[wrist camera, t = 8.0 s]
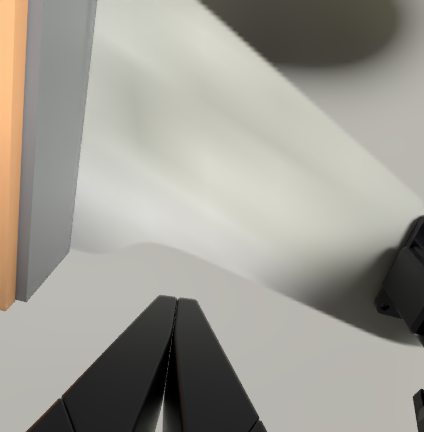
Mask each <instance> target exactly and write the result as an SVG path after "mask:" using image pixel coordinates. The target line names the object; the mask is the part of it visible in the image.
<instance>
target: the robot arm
mask: <svg viewBox="0 0 424 432" xmlns="http://www.w3.org/2000/svg"><path fill="white" fill-rule="evenodd" d="M383 304H387V305H386V306H382V305H383ZM374 305H375V307H376V309H377V311H378V312H379V313H381V314H385V315H389V316H392V317H396V318H400V319H403V321H404V322H405V324H406V326H407V327H408V329H409V331H410V332H411V333H412V334H415V335H417V337H418V339H419V340H420V342H421V344H422V345H423V347H424V217H422V218H421V219H420V220H419V221H418V223H417V225H416V227H415V229H414V230H413V232H412V234H411V236H410V238H409V240H408V241H407V243H406V245H405V247H404V248H402V249H401V250H400V252H399V254H398V256H397V258H396V260H395V261H394V263H393V265H392V267H391V269H390V271H389V272H388V274H387V276H386V278H385V280H384V282H383V287H382V289H381V291H380V293H379V295H378V296H377V298H376V300H375V303H374ZM176 306H177V307H176ZM175 313H176V314H175ZM174 320H175V321H174ZM173 327H174V328H173ZM172 334H173V335H172ZM171 341H172V342H171ZM170 348H171V350H170ZM169 355H170V357H169ZM168 362H169V364H168ZM167 369H168V371H167ZM166 376H167V378H166ZM165 383H166V385H165ZM164 390H165V393H164ZM163 396H164V403H163V404H164V405H163V432H267V431H266V429H265V427H264V425H263V423H262V421H260V420H259V416H258V414H257V412H256V411H255V409H254V407H253V405H252V403H251V401H250V399H249V397H248V395H247V394H246V392H245V390H244V388H243V386H242V384H241V382H240V381H239V379H238V377H237V375H236V373H235V371H234V369H233V367H232V365H231V364H230V362H229V360H228V358H227V356H226V354H225V353H224V351H223V349H222V347H221V345H220V344H219V341H218V339H217V337H216V336H215V334H214V332H213V330H212V328H211V326H210V324H209V322H208V321H207V319H206V317H205V315H204V313H203V311H202V309H201V308H200V306H199V304H198V302H197V301H196V300H194V299H188V298H179V299H178V301H177V298H175V297H172V296H165V295H159V296H158V297H157V298H156V299H155V300H154V301H153V302H152V303H151V304H150V305H149V306H148V307H147V308H146V309H145V310H144V311H143V312H142V313H141V314H140V315H139V316H138V317H137V318H136V319H135V321H133V323H132V324H131V325H130V326H129V327H128V328H127V329H126V330H125V331H124V332H123V333H122V334H121V335H120V336H119V337H118V338H117V339H116V340H115V341H114V342H113V343H112V344H111V345H110V346H109V347H108V348H107V349H106V350H105V352H104V353H103V354H102V355H101V356H100V357H99V358H98V359H97V360H96V361H95V362H94V363H93V364H92V365H91V366H90V367H89V368H88V369H87V370H86V371H85V372H84V373H83V375H81V376H80V377H79V378H78V379H77V380H76V382H75V383H74V384H73V385H72V386H71V387H70V388H69V389H68V390H67V391H66V392H65V393H64V394H63V395H62V399H58V400H57V401H56V402H55V403H54V404H53V405H52V406H51V407H50V408H49V409H48V410H47V411H46V412H45V413H44V414H43V415H42V416H41V417H40V419H38V420H37V421H36V422H35V423H34V424H33V425H32V426H31V427H30V428H29V429H28V430H27V431H26V432H155V429H156V425H157V421H158V418H159V414H160V410H161V406H162V401H163ZM413 401H414V407H415V414H416V420H417V427H418V432H424V390H423V389H420V390H419V391H418V392H417V393H416V394H415V395H414V396H413Z"/></svg>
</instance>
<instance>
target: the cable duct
mask: <svg viewBox="0 0 424 432" xmlns="http://www.w3.org/2000/svg"><path fill="white" fill-rule="evenodd" d="M96 5H97V0H28V16H27V39H26V62H25V85H24V108H23V131H22V154H21V177H20V200H19V223H18V246H17V268H16V291H15V299H16V300H20V301H24V302H27V301H28V299H29V298H30V297H31V296H32V295H33V294H34V292H35V291H36V290H37V289H38V288H39V287H40V285H41V284H42V283H43V282H44V281H45V279H46V278H47V277H48V276H49V275H50V274H51V272H52V271H53V270H54V269H55V268H56V266H57V265H58V264H59V263H60V262H61V260H62V259H63V258H64V257H65V256H66V255H67V254H68V252H69V247H70V239H71V230H72V221H73V212H74V203H75V194H76V185H77V176H78V167H79V158H80V149H81V140H82V131H83V122H84V113H85V104H86V95H87V86H88V77H89V68H90V59H91V50H92V41H93V32H94V23H95V14H96Z"/></svg>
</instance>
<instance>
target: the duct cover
mask: <svg viewBox="0 0 424 432" xmlns="http://www.w3.org/2000/svg"><path fill="white" fill-rule="evenodd" d="M27 16H28V0H0V310H3V311H6V310H7V309H8V308H9V307H10V306H11V305H12V303H13V302H14V301H15V291H16V268H17V246H18V223H19V200H20V177H21V154H22V131H23V108H24V85H25V62H26V39H27Z"/></svg>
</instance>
